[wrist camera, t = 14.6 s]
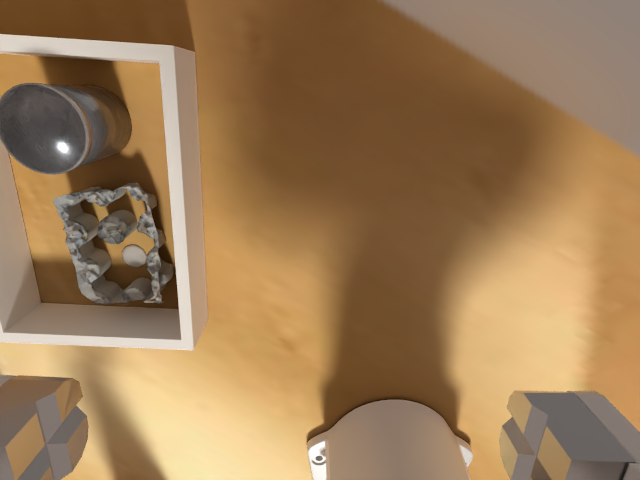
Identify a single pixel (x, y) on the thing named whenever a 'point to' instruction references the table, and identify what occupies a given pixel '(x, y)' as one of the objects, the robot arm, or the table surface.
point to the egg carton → (113, 231)
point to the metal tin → (62, 125)
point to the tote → (186, 209)
